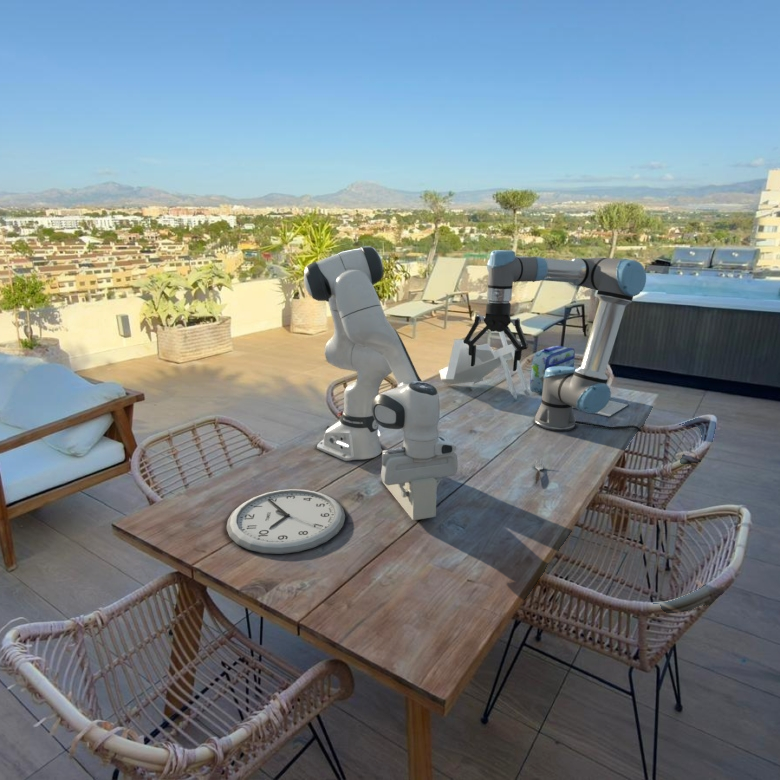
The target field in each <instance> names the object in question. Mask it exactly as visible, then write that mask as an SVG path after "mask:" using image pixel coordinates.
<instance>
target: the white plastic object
mask: <svg viewBox="0 0 780 780" xmlns="http://www.w3.org/2000/svg"><path fill="white" fill-rule="evenodd" d="M498 335H499V338H500V342H501V345H502V347H500V348H498V349H496V350H495V349H493V348H492V347H491V346H490V344H489V343H488V342H487V343H483V344H479V345H476V356H475V365H474V366H471V355H469V345H468V344H465V343H464V342H463V341H464V340H465V339H463V338H460V339H458V338H454V340H453V344H452V349H451V353H450V357H449V362H448V366H446V367H444V368H442V369H440V370H439V371H438V372H439V376H440V381H442V383H443V384H444V385H445V386H449V385H458V384H467V383H468V384H469V383H473V384H477V383H480V382H482V381H484V378H485V377H486V376H487V375H489V374H490V373H492V372H494V371H495V370H496V369H497V368H499V367H500V366H502V370H503V373H504V376H505V380H506V383H507V386H508V390H509V393H510V394H511V395H512V397H513V398H514V399H515V400H517V392H516V391H517V390H516V388H515V385H514V381H513V378H512V375H511V371H510V369H509V365H508V361H510V360H513V361H514V354H515V350H516V349H517V348H516V347H515V346H514V344H513V343H511V344H508V341H507V337H506V334H505V333H504V331H502V332H498ZM522 368H523V367H522V366H521V362H520V361H519V360H517V369H516V372H517V376H518V380H519V382H520V385H521V389H522V391H523V393H524V395H525V396H526V397H528V396H531V395H530V389H529V388H528V387H529V386H528V384H527V381H526V378H525V375H524V371H523V369H522Z"/></svg>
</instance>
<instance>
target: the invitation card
mask: <svg viewBox="0 0 780 780" xmlns="http://www.w3.org/2000/svg"><path fill="white" fill-rule="evenodd" d="M628 406H629V404H627V403H623V402H618V401H614V400H610V399H609V402H608V403H607V405H606V406H605V407H604V408H603V409H601V410H600V411H599V412H596V413H595V414H596V415H600V416H604V417H608V418H609V417H611V416H613V415H614V414H616V413H617V412H619V411H621V410H623V409H624V408H626V407H628ZM575 410H578V409H577V408H575Z"/></svg>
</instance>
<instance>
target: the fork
mask: <svg viewBox="0 0 780 780" xmlns="http://www.w3.org/2000/svg"><path fill="white" fill-rule="evenodd" d="M534 468H535V469H536V470H537V472H536V473H535V484H537V483H538V480H539V478H540V476H541V474H540V470H543V469H545V461H543V459H541V458H539V459H538V457H537V458H536V462H535V467H534Z"/></svg>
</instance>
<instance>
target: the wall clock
mask: <svg viewBox="0 0 780 780" xmlns="http://www.w3.org/2000/svg"><path fill="white" fill-rule="evenodd" d="M345 520H346V515H345V511H344V508H343V507H342V505H341V504H340V503H339V502H338V501H337V500H336V499H334V498H333V497H331V496H329V495H327V494H324V493H322V492H319V491H315V490H309V489H298V488H297V489H295V488H292V489H289V488H288V489H280V490H279V489H278V490H274V491H270V492H269V491H268V492H265V493H262V494H260V495H257V496H254V497H252V498H250V499H248V500H246V501H245V502H243V503H241V504H240V505H239V506H237V508H236V509H234V510H233V511H232V512H231V514H230V516H229V517H228V519H227V522H226V531H227V534H228V537H229V538H230V539H231V540H232V541H233V542H234V543H235V544H236V545H238V546H240V547H242V548H244V549H246V550H248V551H253V552H256V553H261V554H271V555H273V554H274V555H281V554H282V555H283V554H291V553H300V552H303V551H306V550H311V549H314V548H316V547H318V546H320V545H322V544H325V543H328V541H330V540H332V538H334V537H335V536H336V535H338V533H339V532H340V531H341V530H342V528H343V527H344V524H345Z"/></svg>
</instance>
